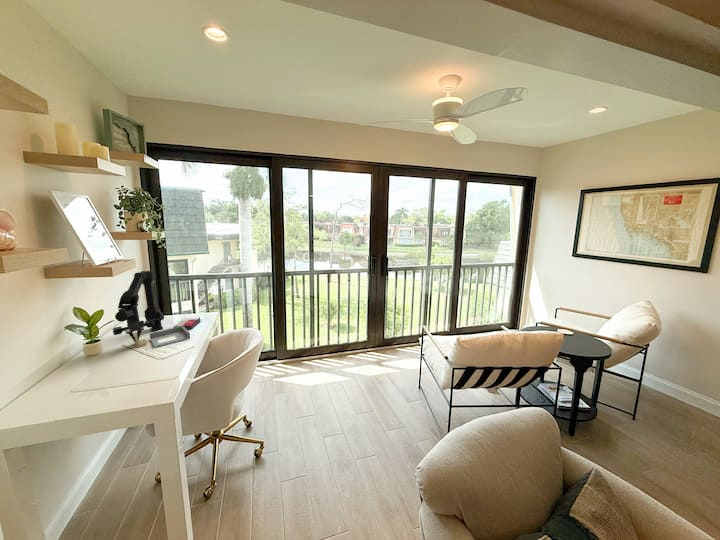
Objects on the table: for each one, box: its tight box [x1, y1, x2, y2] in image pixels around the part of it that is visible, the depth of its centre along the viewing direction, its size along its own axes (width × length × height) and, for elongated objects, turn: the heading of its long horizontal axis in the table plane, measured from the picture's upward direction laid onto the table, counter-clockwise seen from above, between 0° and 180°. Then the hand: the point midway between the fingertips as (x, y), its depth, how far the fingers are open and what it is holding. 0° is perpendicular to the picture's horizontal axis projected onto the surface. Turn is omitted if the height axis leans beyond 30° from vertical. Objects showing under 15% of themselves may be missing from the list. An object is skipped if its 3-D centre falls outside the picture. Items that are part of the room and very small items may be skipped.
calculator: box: [172, 317, 201, 331], centre depth 197 cm, size 11×4×15 cm
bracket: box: [133, 332, 148, 348], centre depth 170 cm, size 8×5×6 cm, turn 43°
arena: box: [149, 326, 191, 348], centre depth 176 cm, size 16×18×4 cm
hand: (136, 341), depth 168 cm, fingers closed on bracket
